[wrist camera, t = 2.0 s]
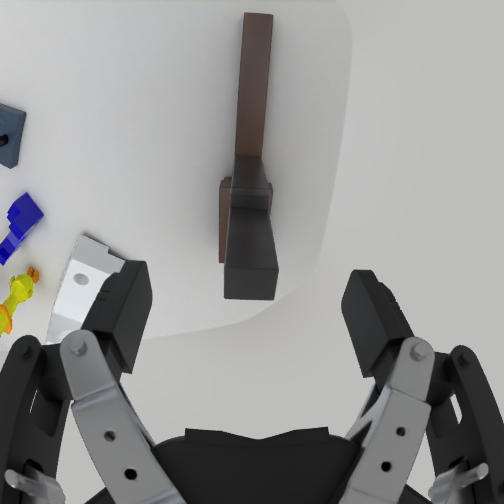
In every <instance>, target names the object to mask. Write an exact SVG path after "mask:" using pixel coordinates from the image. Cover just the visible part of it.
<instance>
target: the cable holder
mask: <svg viewBox="0 0 504 504" xmlns="http://www.w3.org/2000/svg"><path fill="white" fill-rule="evenodd" d="M7 213H8V216H7V218H8V220H9V221H10V222H11V224H10V226H9V228H10V230H11V232H10V233H9V234H8V236H7V237H6V238H5V239H4V240H3V242H2V243H1V244H0V263H1V264H2V266H4V264H5V263H6V262H7V261H8V260H9V258H10V257H11V256H12V255H13V254H14V253H15V252H16V251H17V249H18V248H19V247H20V246H21V244H22V243H23V242H24V240H25V239H26V238H27V236H28V235H29V234H30V232H31V231H32V230H33V228H34V227H35V226H36V224H37V223H38V222H39V221H40V219H41V218H42V217H43V216H44V215H43V213H42V212H41V211H40V210H39V208H38V207H37V206H36V204H35V203H34V202H33V200H32V199H31V198H30V196H29V195H28V194H27V192H26V193H25V194H24V195H22V196H21V197H20V198H18V199H17V200H16V201H15V202H13V204H12V206H11V207H10V209H9V211H8V212H7Z"/></svg>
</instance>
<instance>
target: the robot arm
mask: <svg viewBox="0 0 504 504" xmlns="http://www.w3.org/2000/svg"><path fill="white" fill-rule="evenodd" d="M151 306H152V289H151V284H150V279H149V273H148V268H147V264H146V262H145V261H136V260H126V261H125V263H124V264H123V266H122V268H121V270H120V272H119V273H118V272H114V273H112V274H111V275H110V276H109V277H108V278H107V279H106V280H105V281H104V283H103V284H102V286H101V288H100V292H98V294H97V296H96V298H95V300H94V302H93V304H92V306H91V308H90V310H89V312H88V314H87V316H86V318H85V320H84V322H83V324H82V326H81V328H80V330H76V331H73V332H71V333H69V334H68V335H67V336H65V338H64V339H63V340H62V342H61V343H59V344H50V345H41V343H40V342H39V340H38V339H37V338H36V337H34V336H32V335H26V336H23V337H20V338H19V339H18V340H16V341H15V342H14V344H13V345H12V347H11V349H10V351H9V354H8V356H7V358H6V360H5V363H4V365H3V368H2V370H1V372H0V504H65V503H64V502H65V495H64V493H63V491H62V489H61V486H60V485H59V483H58V482H57V481H56V472H57V465H58V458H59V452H60V446H61V441H62V436H63V431H64V427H65V422H66V418H67V413H68V409H69V405H70V401H71V400H74V403H73V404H71V409H72V412H73V416H74V418H75V421H76V424H77V426H78V429H79V431H80V434H81V436H82V439H83V441H84V443H85V446H86V448H87V450H88V452H89V455H90V457H91V459H92V461H93V463H94V465H95V467H96V469H97V471H98V473H99V475H100V477H101V478H102V481H103V482H104V484H105V486H106V487H105V488H104V489H103V490H101V491H100V492H99V493H97V494H96V495H95V496H94V497H92V498H91V499H90V500H89V501H87V502H86V503H84V504H504V423H503V420H502V417H501V414H500V412H499V409H498V406H497V403H496V401H495V398H494V395H493V393H492V390H491V388H490V386H489V383H488V381H487V378H486V376H485V374H484V372H483V369H482V367H481V365H480V363H479V361H478V359H477V356H476V355H475V353H474V352H473V351H472V350H471V349H470V348H468V347H466V346H463V345H459V346H456V347H455V348H454V349H453V350H452V351H451V353H450V354H446V353H440V352H434V351H433V348H432V347H431V345H430V344H429V343H428V342H426V341H425V340H423V339H421V338H419V337H415V336H414V334H413V332H412V330H411V328H410V326H409V324H408V322H407V320H406V318H405V316H404V314H403V312H402V310H400V307H399V305H398V303H397V302H396V299H395V297H394V296H393V294H392V292H391V291H390V289H388V288H387V287H386V286H385V285H384V284H383V283H381V282H378V280H377V278H376V276H375V274H374V273H373V271H372V270H353V271H352V273H351V275H350V278H349V281H348V284H347V286H346V289H345V292H344V295H343V298H342V303H341V309H342V314H343V317H344V320H345V322H346V325H347V328H348V331H349V334H350V337H351V340H352V343H353V346H354V349H355V353H356V356H357V359H358V362H359V365H360V368H361V372H362V375H363V378H367V377H374V379H375V383H374V384H373V386H372V387H371V390H370V392H369V394H368V397H367V399H366V401H365V403H364V405H363V407H362V409H361V411H360V413H359V415H358V417H357V419H356V421H355V423H354V424H353V426H352V427H351V429H350V430H349V431H348V433H347V434H346V436H345V437H344V438H343V437H340V436H335V435H330V434H329V432H328V427H320V428H312V429H299V430H293V431H290V432H286V433H283V434H279V435H276V436H272V437H268V438H264V439H258V440H257V439H252V438H247V437H243V436H239V435H235V434H231V433H227V432H223V431H213V430H198V429H187V428H186V429H185V436H179V437H175V438H171V439H168V440H166V441H163V442H161V443H159V444H157V445H156V444H155V442H154V441H153V439H152V437H151V436H150V434H149V433H148V431H147V430H146V428H145V427H144V425H143V424H142V422H141V420H140V419H139V417H138V415H137V413H136V412H135V410H134V408H133V406H132V404H131V402H130V400H129V399H128V397H127V395H126V393H125V391H124V389H123V387H122V385H121V383H120V377H121V373H122V372H124V373H129V374H132V371H133V367H134V363H135V359H136V356H137V352H138V349H139V345H140V341H141V338H142V335H143V332H144V328H145V325H146V322H147V319H148V315H149V312H150V309H151ZM36 390H37V392H36ZM35 393H36V395H35ZM453 394H455V395H456V398H457V401H458V403H459V406H460V409H461V413H462V419H461V422H460V424H458V421H457V417H456V414H455V411H454V408H453V405H452V402H451V399H450V397H451V396H453ZM34 396H35V399H34ZM33 399H34V402H33ZM32 402H33V405H32ZM31 406H32V409H31ZM30 409H31V413H30ZM425 431H426V435H427V439H428V443H429V447H430V452H431V456H432V461H433V466H434V471H435V476H436V479H435V481H434V483H433V486H432V487H431V488H430V489H429V491H428V496H429V497H430V498H432V499H431V502H430V501H429V500H428V499H426V498H425V497H423V496H422V495H421V494H419V493H418V492H417V491H415V490H414V489H413V488H411V487H410V486H409V485H407V484H406V481H407V479H408V477H409V475H410V472H411V470H412V467H413V464H414V462H415V459H416V456H417V454H418V451H419V448H420V445H421V442H422V439H423V436H424V433H425Z"/></svg>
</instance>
